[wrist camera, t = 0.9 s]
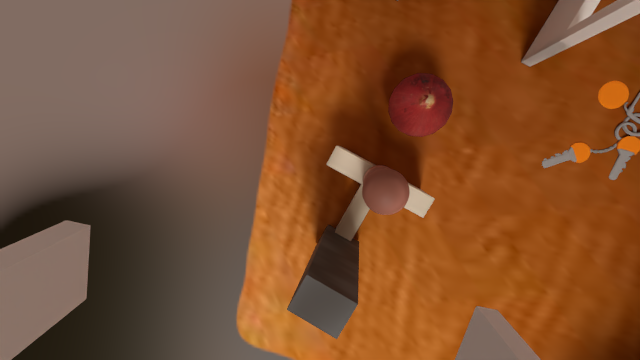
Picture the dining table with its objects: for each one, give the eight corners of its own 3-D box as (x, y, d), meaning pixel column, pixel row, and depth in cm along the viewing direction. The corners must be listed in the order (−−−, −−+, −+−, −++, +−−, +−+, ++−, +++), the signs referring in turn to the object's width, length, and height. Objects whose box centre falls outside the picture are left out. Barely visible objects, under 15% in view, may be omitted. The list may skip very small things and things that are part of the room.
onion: (388, 81, 32) (397, 59, 24) (444, 83, 32) (471, 62, 24) (383, 135, 33) (390, 131, 25) (437, 139, 32) (462, 136, 24)
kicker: (424, 185, 33) (472, 212, 19) (369, 276, 35) (375, 363, 21) (343, 141, 33) (330, 135, 19) (293, 233, 35) (249, 289, 21)
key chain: (622, 55, 30) (630, 52, 29) (687, 98, 29) (697, 96, 28) (533, 162, 32) (538, 162, 31) (593, 202, 31) (600, 204, 30)
